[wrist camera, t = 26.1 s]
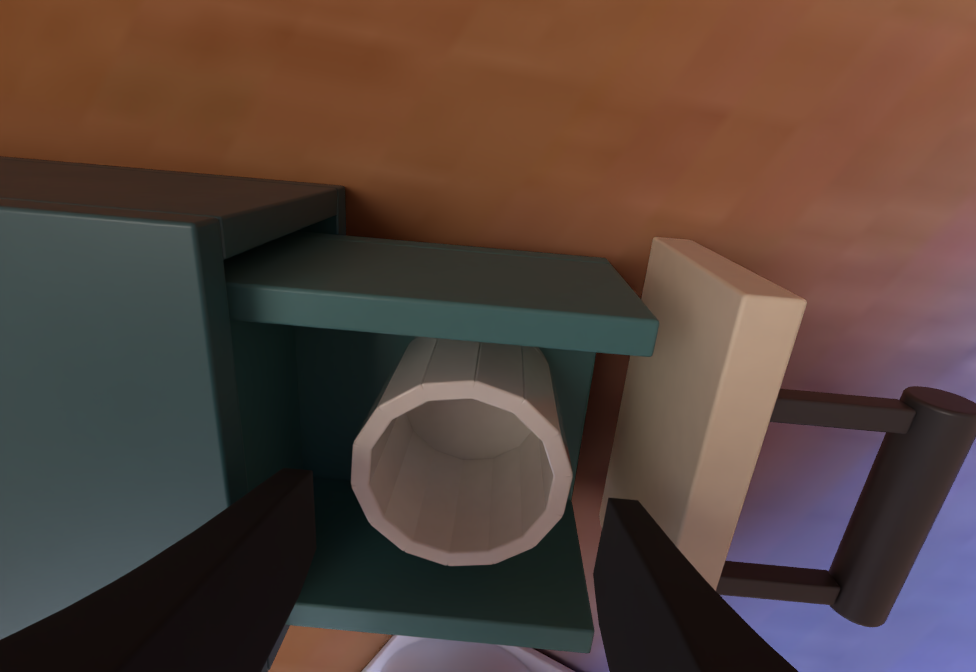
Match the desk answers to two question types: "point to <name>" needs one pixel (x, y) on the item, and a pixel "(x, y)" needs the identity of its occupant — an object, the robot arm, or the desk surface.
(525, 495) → the cup
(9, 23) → the desk surface
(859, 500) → the drawer
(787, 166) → the desk surface
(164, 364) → the cabinet
